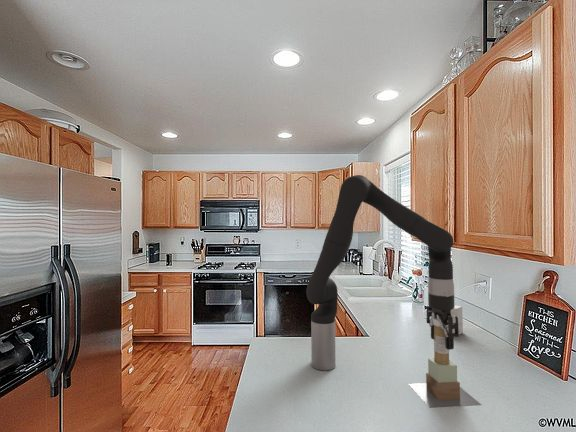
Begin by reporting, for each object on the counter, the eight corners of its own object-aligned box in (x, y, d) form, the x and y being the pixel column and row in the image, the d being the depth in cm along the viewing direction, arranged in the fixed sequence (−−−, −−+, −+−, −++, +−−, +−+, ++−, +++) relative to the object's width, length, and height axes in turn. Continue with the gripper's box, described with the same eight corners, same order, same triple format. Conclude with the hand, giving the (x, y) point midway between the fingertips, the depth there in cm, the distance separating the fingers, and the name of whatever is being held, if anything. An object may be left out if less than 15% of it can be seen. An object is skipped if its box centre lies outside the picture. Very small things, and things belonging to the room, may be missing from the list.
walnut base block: (426, 388, 106) (426, 373, 106) (446, 387, 106) (446, 372, 106) (438, 400, 99) (437, 383, 99) (460, 399, 99) (459, 382, 100)
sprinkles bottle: (436, 357, 106) (436, 316, 106) (451, 361, 103) (451, 318, 103) (431, 362, 103) (431, 319, 103) (447, 366, 100) (446, 321, 100)
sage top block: (428, 373, 105) (428, 358, 106) (446, 372, 106) (445, 357, 106) (438, 382, 99) (438, 366, 100) (457, 381, 100) (456, 365, 100)
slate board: (408, 387, 109) (408, 384, 109) (453, 384, 110) (453, 381, 110) (429, 411, 95) (429, 407, 95) (481, 408, 96) (481, 404, 96)
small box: (463, 332, 161) (462, 306, 162) (457, 335, 157) (457, 308, 158) (446, 328, 168) (446, 303, 168) (440, 331, 164) (440, 305, 164)
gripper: (418, 288, 110) (419, 336, 110) (442, 297, 96) (443, 353, 96) (440, 287, 111) (440, 335, 110) (466, 297, 96) (467, 352, 96)
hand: (441, 343), depth 103 cm, fingers open, 8 cm apart
